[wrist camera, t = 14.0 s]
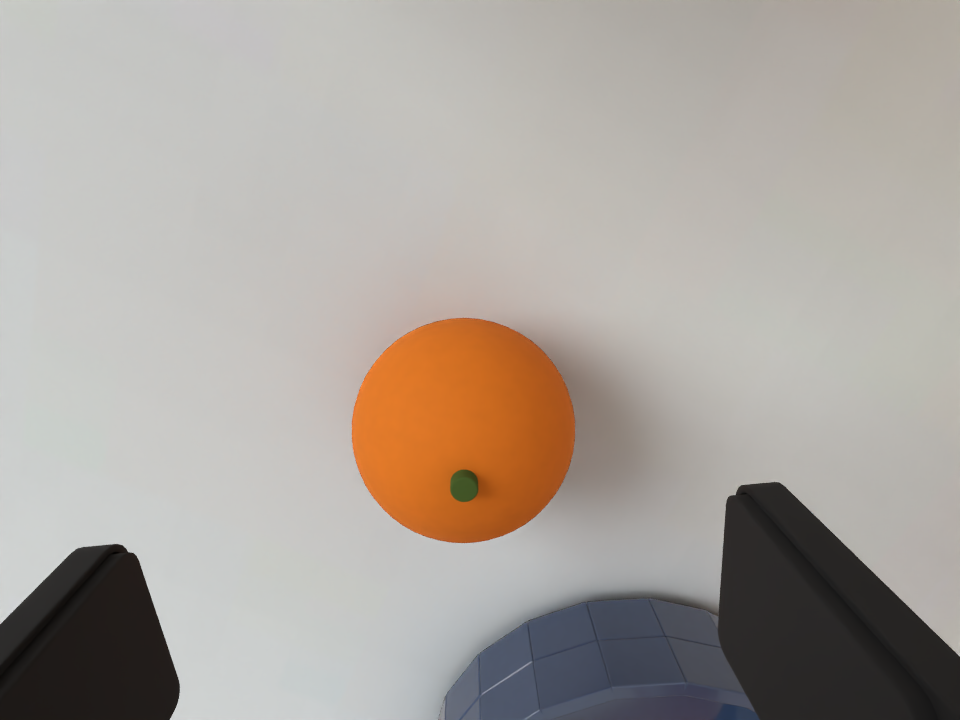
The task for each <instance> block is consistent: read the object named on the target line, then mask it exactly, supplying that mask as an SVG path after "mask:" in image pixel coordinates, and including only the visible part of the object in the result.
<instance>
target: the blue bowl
mask: <svg viewBox="0 0 960 720" xmlns="http://www.w3.org/2000/svg"><path fill="white" fill-rule="evenodd" d="M438 720H760V719H759V717H758V716H757V714H756V712H755V710H754V708H753V706H752V705H751V703H750V701H749V699H748V697H747V696H746V694H745V692H744V690H743V688H742V686H741V685H740V683H739V681H738V679H737V677H736V676H735V674H734V672H733V670H732V668H731V666H730V665H729V663H728V661H727V659H726V657H725V655H724V653H723V651H722V648H721V645H720V642H719V637H718V617H717V616H716V615H714V614H712V613H710V612H709V611H706V610H704V609H699V608H694V607H690V606H685V605H680V604H676V603H671V602H667V601H662V600H657V599H653V598H639V599H623V600H606V601H589V602H587V603H586V602H583V603H580V604H577V605H574V606H571V607H568V608H565V609H562V610H559V611H556V612H553V613H550V614H547V615H544V616H541V617H538V618H535V619H532V620H529V621H528V622H525V623H524V624H522V625H521V626H519V627H518V628H516V629H515V630H513V631H512V632H510V633H509V634H507V635H506V636H504V637H503V638H501V639H500V640H498V641H497V642H495V643H494V644H492V645H491V646H489V647H488V648H486V649H485V650H483V651H482V652H480V654H478V655H477V656H476V658H475V659H474V660H473V661H472V663H471V664H470V665H469V666H468V668H467V669H466V670H465V671H464V673H463V674H462V675H461V676H460V678H459V679H458V680H457V682H456V683H455V684H454V685H453V687H452V688H451V689H450V690H449V692H448V693H447V695H446V696H445V699H444V702H443V705H442V709H441V712H440V715H439V718H438Z"/></svg>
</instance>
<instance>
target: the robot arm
mask: <svg viewBox="0 0 960 720" xmlns="http://www.w3.org/2000/svg"><path fill="white" fill-rule="evenodd" d="M718 637H719V642H720V645H721V648H722V651H723V653H724V655H725V657H726V659H727V661H728V663H729V665H730V666H731V668H732V670H733V672H734V674H735V676H736V677H737V679H738V681H739V683H740V685H741V686H742V688H743V690H744V692H745V694H746V696H747V697H748V699H749V701H750V703H751V705H752V706H753V708H754V710H755V712H756V714H757V716H758V717H759V719H760V720H960V657H959V656H958V655H957V654H956V653H955V652H954V651H953V650H952V649H951V648H950V647H949V646H948V645H947V644H946V643H945V642H944V641H943V640H942V639H941V638H940V637H939V636H938V635H937V634H936V633H935V632H934V631H933V630H932V629H931V628H930V627H929V626H928V625H927V624H926V623H925V622H924V621H922V620H921V619H920V618H919V617H918V616H917V615H916V614H915V613H914V612H913V611H912V610H911V609H910V608H909V607H908V606H907V605H906V604H905V603H904V602H903V601H902V600H901V599H900V598H899V597H898V596H897V595H896V594H895V593H894V592H893V591H892V590H891V589H890V588H889V587H888V586H886V585H885V584H884V583H883V582H882V581H881V580H880V579H879V578H878V577H877V576H876V575H875V574H874V573H873V572H872V571H871V570H870V569H869V568H868V567H867V566H866V565H865V564H864V563H863V562H862V561H861V560H860V559H859V558H858V557H857V556H856V555H855V554H854V553H853V552H852V551H850V550H849V549H848V548H847V547H846V546H845V545H844V544H843V543H842V542H841V541H840V540H839V539H838V538H837V537H836V536H835V535H834V534H833V533H832V532H831V531H830V530H829V529H828V528H827V527H826V526H825V525H824V524H823V523H822V522H821V521H820V520H819V519H818V518H817V517H816V516H814V515H813V514H812V513H811V512H810V511H809V510H808V509H807V508H806V507H805V506H804V505H803V504H802V503H801V502H800V501H799V500H798V499H797V498H796V497H795V496H794V495H793V494H792V493H791V492H790V491H789V490H788V489H787V488H786V487H785V486H783V485H782V484H781V483H778V482H771V483H760V484H750V485H741V486H740V487H739V488H738V490H737V492H736V495H733V496H729V497H728V499H727V503H726V514H725V528H724V543H723V558H722V573H721V588H720V602H719V617H718ZM179 692H180V684H179V680H178V677H177V674H176V671H175V668H174V665H173V662H172V659H171V656H170V653H169V650H168V647H167V644H166V641H165V638H164V635H163V632H162V629H161V626H160V623H159V620H158V617H157V614H156V611H155V608H154V605H153V602H152V599H151V596H150V593H149V590H148V587H147V584H146V581H145V578H144V575H143V572H142V569H141V566H140V563H139V560H138V558H137V556H136V555H135V554H134V553H130V552H129V553H128V551H127V549H126V548H125V547H124V546H122V545H119V544H112V545H102V546H91V547H82V548H78V549H76V550H75V551H74V552H72V553H71V554H70V555H69V556H68V557H67V558H66V559H65V560H64V561H63V562H62V563H61V564H60V565H59V566H58V567H57V568H56V569H55V570H54V571H53V572H52V573H51V574H50V575H49V576H48V577H47V578H46V579H45V580H44V581H43V582H42V583H41V584H40V585H39V586H38V587H37V588H36V589H35V590H34V591H33V592H32V593H31V594H30V595H29V596H28V597H27V598H26V599H25V600H24V601H23V602H22V603H21V604H20V605H19V606H18V607H17V608H16V609H15V610H14V611H13V612H12V613H11V614H10V615H9V616H8V617H7V618H6V619H5V620H4V621H3V622H2V623H1V624H0V720H170V718H171V716H172V714H173V712H174V710H175V708H176V706H177V703H178V699H179Z"/></svg>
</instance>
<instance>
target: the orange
mask: <svg viewBox="0 0 960 720" xmlns="http://www.w3.org/2000/svg"><path fill="white" fill-rule="evenodd" d="M574 442H575V418H574V411H573V406H572V402H571V399H570V396H569V393H568V389H567V387H566V385H565V383H564V380H563V378H562V376H561V374H560V373H559V371H558V370H557V368H556V367H555V365H554V364H553V362H552V361H551V360H550V359H549V358H548V357H547V355H546V354H545V353H544V352H543V351H542V350H541V349H540V348H539V347H538V346H537V345H536V344H534V343H533V342H532V341H531V340H529V339H528V338H526V337H525V336H523V335H522V334H520V333H518V332H516V331H514V330H512V329H510V328H508V327H506V326H503V325H500V324H497V323H494V322H491V321H486V320H481V319H471V318H456V319H447V320H442V321H437V322H434V323H430V324H427V325H424V326H422V327H419V328H417V329H415V330H413V331H411V332H409V333H407V334H406V335H404V336H403V337H401V338H400V339H398V340H397V341H395V342H394V343H393V344H392V345H391V346H390V347H389V348H387V349H386V350H385V351H384V352H383V354H382V355H381V356H380V357H379V358H378V359H377V360H376V362H375V363H374V364H373V366H372V367H371V369H370V370H369V372H368V373H367V375H366V377H365V379H364V381H363V383H362V385H361V387H360V390H359V393H358V396H357V400H356V403H355V406H354V412H353V418H352V443H353V450H354V456H355V459H356V463H357V466H358V469H359V472H360V474H361V476H362V479H363V481H364V483H365V485H366V487H367V488H368V490H369V492H370V493H371V495H372V496H373V497H374V499H375V500H376V501H377V502H378V504H379V505H380V506H381V507H382V508H383V509H384V510H385V511H386V512H387V513H388V514H389V515H390V516H391V517H392V518H393V519H395V520H396V521H398V522H399V523H400V524H402V525H403V526H405V527H407V528H408V529H410V530H412V531H414V532H416V533H419V534H421V535H423V536H426V537H429V538H433V539H436V540H440V541H446V542H453V543H472V542H480V541H486V540H490V539H493V538H497V537H500V536H503V535H505V534H508V533H510V532H512V531H514V530H516V529H518V528H520V527H521V526H523V525H525V524H526V523H527V522H529V521H530V520H531V519H533V518H534V517H535V516H536V515H537V514H538V513H539V512H541V511H542V510H543V509H544V508H545V506H546V505H547V504H548V503H549V502H550V500H551V499H552V498H553V497H554V495H555V494H556V492H557V491H558V489H559V487H560V486H561V484H562V482H563V480H564V478H565V475H566V473H567V471H568V468H569V465H570V462H571V458H572V455H573V449H574Z"/></svg>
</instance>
